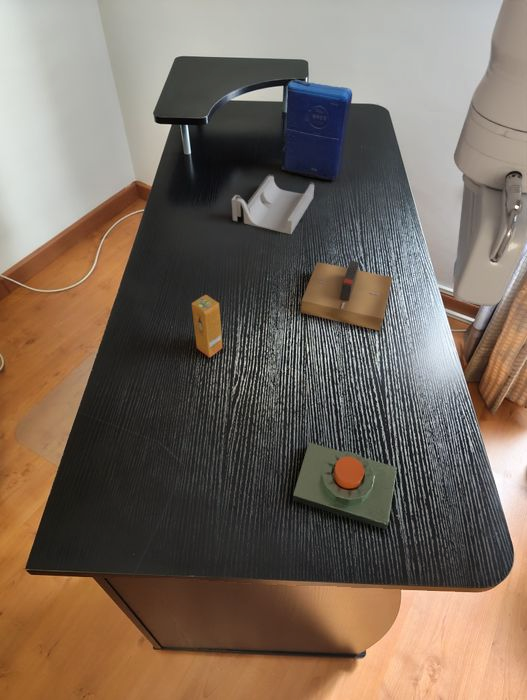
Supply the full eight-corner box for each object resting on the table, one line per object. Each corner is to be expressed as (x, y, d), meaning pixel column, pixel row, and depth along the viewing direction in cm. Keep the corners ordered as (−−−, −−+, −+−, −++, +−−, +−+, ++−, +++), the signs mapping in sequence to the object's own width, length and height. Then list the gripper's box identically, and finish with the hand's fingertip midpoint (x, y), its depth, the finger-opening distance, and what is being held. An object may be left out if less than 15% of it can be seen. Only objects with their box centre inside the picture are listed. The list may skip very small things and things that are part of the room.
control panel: (389, 289, 88) (392, 276, 86) (379, 330, 81) (383, 317, 79) (315, 274, 91) (317, 260, 88) (300, 312, 84) (301, 299, 82)
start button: (364, 467, 61) (366, 461, 60) (359, 492, 59) (361, 486, 58) (336, 459, 62) (338, 453, 61) (330, 484, 60) (332, 478, 58)
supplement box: (224, 347, 79) (220, 303, 71) (209, 358, 77) (203, 315, 70) (211, 336, 80) (205, 292, 73) (195, 348, 79) (188, 304, 71)
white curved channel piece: (291, 234, 99) (292, 213, 95) (232, 220, 102) (231, 199, 98) (313, 197, 108) (315, 176, 104) (259, 186, 111) (258, 165, 107)
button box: (394, 472, 64) (400, 460, 62) (385, 529, 59) (391, 518, 57) (308, 448, 67) (309, 435, 64) (292, 500, 62) (293, 489, 59)
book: (279, 173, 115) (281, 84, 100) (286, 163, 118) (290, 75, 103) (336, 185, 111) (348, 94, 96) (342, 174, 115) (355, 85, 99)
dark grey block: (347, 275, 86) (350, 259, 83) (356, 277, 86) (359, 261, 83) (339, 299, 82) (342, 282, 79) (348, 301, 82) (352, 284, 79)
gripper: (568, 224, 32) (491, 357, 42) (549, 101, 44) (494, 227, 55) (469, 207, 33) (419, 340, 43) (478, 92, 46) (438, 217, 56)
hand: (461, 276), depth 49 cm, fingers closed
